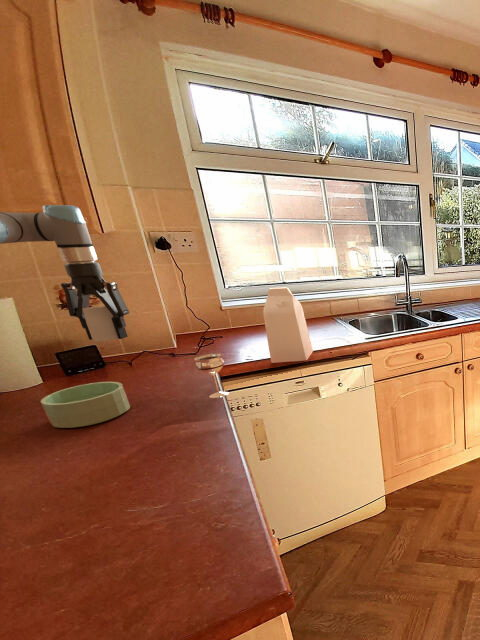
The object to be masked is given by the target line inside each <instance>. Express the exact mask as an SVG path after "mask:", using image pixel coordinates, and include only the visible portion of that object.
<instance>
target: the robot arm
mask: <svg viewBox="0 0 480 640" xmlns="http://www.w3.org/2000/svg"><path fill="white" fill-rule="evenodd" d="M29 242H30V243H31V242H32V243H34V242H54V243H55V245H56V247H57V250H58V253H59V257H60V259H61V261H62V262H63V263H65V264H64V269H65V271H66V274H67V276H68V277H69V278H70V281H69V282H63V283H61V284H60V286H61V288H62V290H63V291H64V297H65V300H66V304H67V309H68V314H69V316H70V317H75V318H77V319H78V320H79V322H80V324H81V327H82V329H85V332H86V335H87V338H88V340H90V341H93V339H92V337H91V334H90V331H89V329H88V326H87V323H86V320H85V316H84V312H83V309H82V308H90V297H91V296H95V297H96V298H97V299H99V300H100V302H101V303H102V304H103V305H104V306H106V308H107V309H108V310H109V311H110V312H111V314H112V315H113V316H114V317H112V318H111V319H112V322H113V324H114V327H115V330H116V333H117V336H118V338H119V339H118V340H123V339H125V338H128V333H127V330H126V327H127V323H126V320H125V318H124V317H125V316H126V315H129V314H130V311H129V309H128V306H127V305H126V303H125V301H124V299H123V296H122V295H121V293H120V291H119V287H118V282H116V281H107V280H105V279H104V277H103V274H104V273H103V270H102V267H101V264H100V263H99V262H98V260H99V259H98V256H97V253H96V250H95V247H94V244H93V242H92V239H91V236H90V233H89V229H88V226H87V221H86V220H85V218H84V216H83V213H82V211H81V209H80V208H79V207H78V206H76V205H69V204H68V205H67V204H44V205H42V212H9V211H8V212H7V211H3V212H2V211H0V245H2V244H13V243H14V244H16V243H29Z"/></svg>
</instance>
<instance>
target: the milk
mask: <svg viewBox="0 0 480 640" xmlns="http://www.w3.org/2000/svg"><path fill="white" fill-rule="evenodd" d="M262 314H263V321H264V327H265V333H266V339H267V345H268V351H269V352H268V353H269V358H270V362H271V364H275V363H290V362H302V361H307V360H308V359H309V358H310V357H311V355H312V354H313V352H314V349H313V346H312V345H313V344H312V341H311V337H310V333H309V330H308V326H307V321H306V317H305V313H304V309H303V306H302V304H301V302H300V301H299V300H298V299H297V298H296V296H294V294H293V292H291V289H290V288H289V287H270V288H268V293H267V297H266V300H265V303H264V306H263V311H262Z"/></svg>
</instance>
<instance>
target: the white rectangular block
mask: <svg viewBox="0 0 480 640" xmlns="http://www.w3.org/2000/svg"><path fill="white" fill-rule="evenodd" d="M82 309H83V312H84V316H85V320H86V323H87V326H88V329H89V331H90V334H91V337H92V342H93V343H97V342H104V341H106V342H107V341H112V340H120V339H119V338H118V336H117V333H116V330H115V327H114V324H113V322H112V319H111V318H112V317H114V316H113V315H112V314H111V312H110V311H109V310H108V309H107V308H106V306H105V305H104V306H92V307H89V308H82Z"/></svg>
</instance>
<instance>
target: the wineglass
mask: <svg viewBox="0 0 480 640" xmlns="http://www.w3.org/2000/svg"><path fill="white" fill-rule="evenodd" d="M193 360H194V361H195V367H196V369H197V370H198V371H199V372H201V373H203V374H205V375H209V376H211V377H212V380H213V383H214V386H215V389H216V392H214V393H212V394H210V395H209V396H208V397H209V398H210V399H219V398H222V397H226V396H227V395H229V391H220V390H219V386H218V385H219V384H218V381H217V378H216V375H217V373H219V372H220V371H222V369H223V368H224V366H225V361H224V359H223V358H222V354H221V353H216V352H215V353H205V354H202V355H198V356H196V357H194V359H193Z"/></svg>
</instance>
